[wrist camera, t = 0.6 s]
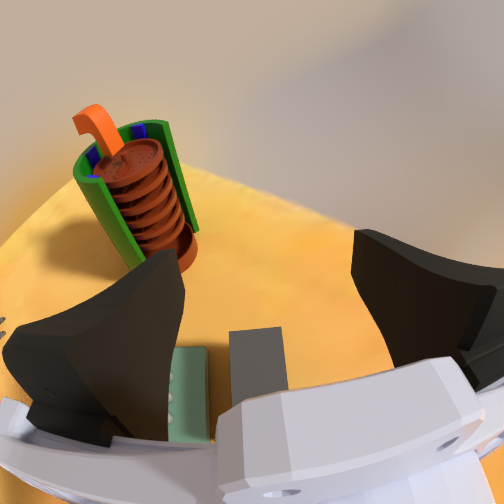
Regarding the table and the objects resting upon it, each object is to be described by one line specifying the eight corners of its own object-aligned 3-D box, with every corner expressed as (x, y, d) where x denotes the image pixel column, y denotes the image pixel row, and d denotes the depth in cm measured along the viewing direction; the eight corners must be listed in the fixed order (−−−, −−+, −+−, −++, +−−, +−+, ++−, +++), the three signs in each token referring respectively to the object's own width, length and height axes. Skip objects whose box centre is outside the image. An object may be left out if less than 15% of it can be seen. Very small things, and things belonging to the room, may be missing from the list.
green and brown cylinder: (184, 292, 31) (104, 130, 15) (120, 282, 32) (31, 149, 16) (207, 224, 37) (167, 76, 21) (149, 221, 38) (95, 94, 22)
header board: (214, 498, 17) (201, 509, 13) (84, 475, 17) (57, 475, 14) (208, 349, 26) (196, 332, 23) (91, 348, 27) (68, 333, 23)
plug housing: (290, 441, 20) (293, 443, 15) (244, 445, 20) (234, 447, 16) (281, 350, 26) (281, 326, 21) (239, 354, 26) (228, 331, 21)
